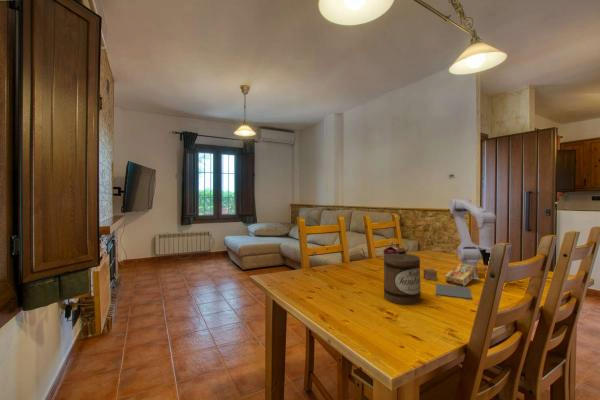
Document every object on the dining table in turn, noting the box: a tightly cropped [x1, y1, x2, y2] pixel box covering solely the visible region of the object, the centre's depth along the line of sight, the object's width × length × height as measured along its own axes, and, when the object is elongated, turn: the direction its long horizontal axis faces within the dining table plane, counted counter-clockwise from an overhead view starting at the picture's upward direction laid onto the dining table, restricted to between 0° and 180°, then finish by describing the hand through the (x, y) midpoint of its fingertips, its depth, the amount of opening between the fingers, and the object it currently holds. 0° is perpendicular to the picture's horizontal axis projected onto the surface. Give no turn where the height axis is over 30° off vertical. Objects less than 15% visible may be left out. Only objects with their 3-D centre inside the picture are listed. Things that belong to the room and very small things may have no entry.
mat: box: [435, 283, 473, 301], centre depth 129 cm, size 16×14×1 cm
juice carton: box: [383, 241, 400, 257], centre depth 135 cm, size 7×7×22 cm
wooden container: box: [383, 247, 422, 306], centre depth 121 cm, size 15×15×22 cm
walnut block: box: [423, 268, 438, 282], centre depth 149 cm, size 5×5×5 cm
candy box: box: [444, 262, 479, 287], centre depth 142 cm, size 9×4×15 cm
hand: (486, 265), depth 136 cm, fingers closed
